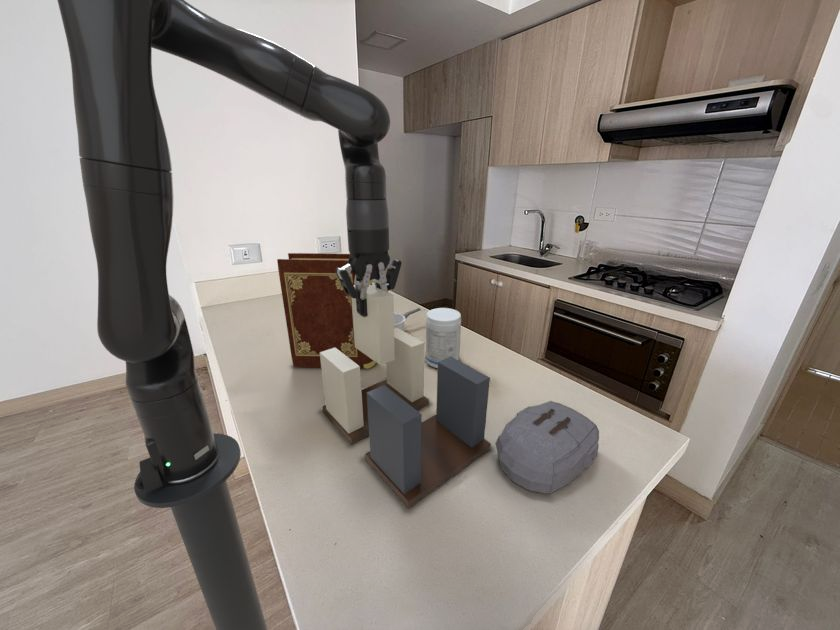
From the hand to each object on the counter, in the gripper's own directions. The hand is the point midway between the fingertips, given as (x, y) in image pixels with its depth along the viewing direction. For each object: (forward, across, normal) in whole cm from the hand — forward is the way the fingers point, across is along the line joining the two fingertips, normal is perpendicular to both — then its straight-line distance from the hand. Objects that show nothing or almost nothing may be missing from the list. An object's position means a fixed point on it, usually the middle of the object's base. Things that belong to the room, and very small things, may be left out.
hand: (372, 312), depth 68 cm
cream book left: (+22, +8, 0) cm, 23 cm away
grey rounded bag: (+23, -16, +32) cm, 43 cm away
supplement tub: (+23, -26, -6) cm, 36 cm away
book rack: (+23, 0, +9) cm, 25 cm away
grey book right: (+22, -8, +18) cm, 29 cm away
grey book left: (+22, +8, +18) cm, 29 cm away
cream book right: (+22, -8, 0) cm, 23 cm away
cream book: (+9, 0, 0) cm, 9 cm away
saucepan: (+23, -29, -31) cm, 49 cm away
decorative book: (+23, -3, -25) cm, 35 cm away
